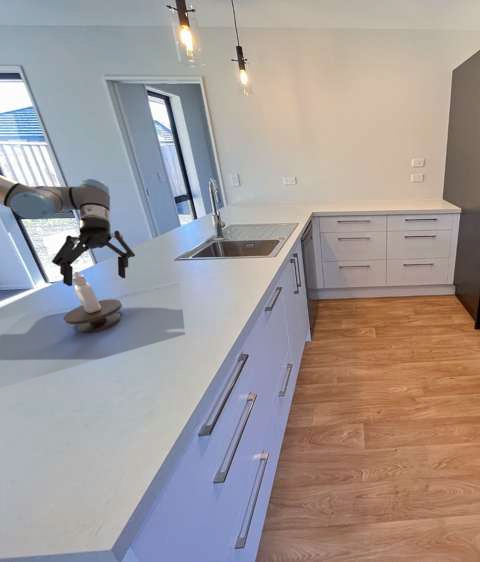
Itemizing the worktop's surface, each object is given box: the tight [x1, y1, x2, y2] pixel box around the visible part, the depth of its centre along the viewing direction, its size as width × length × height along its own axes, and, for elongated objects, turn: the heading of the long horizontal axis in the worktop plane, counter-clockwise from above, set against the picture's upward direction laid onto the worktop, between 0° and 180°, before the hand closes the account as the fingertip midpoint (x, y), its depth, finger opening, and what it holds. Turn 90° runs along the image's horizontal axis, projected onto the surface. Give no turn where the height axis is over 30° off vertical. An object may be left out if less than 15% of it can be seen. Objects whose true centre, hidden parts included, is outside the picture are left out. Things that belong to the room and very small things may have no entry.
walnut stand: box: [63, 298, 123, 334], centre depth 90 cm, size 13×13×5 cm
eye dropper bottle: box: [72, 271, 101, 313], centre depth 86 cm, size 4×6×12 cm
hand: (95, 280), depth 93 cm, fingers open, 13 cm apart
